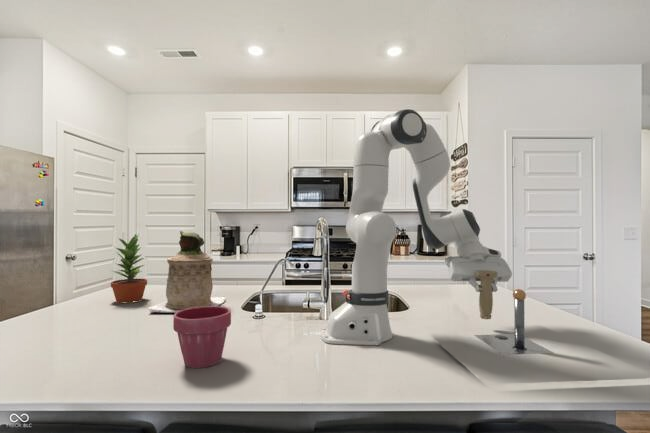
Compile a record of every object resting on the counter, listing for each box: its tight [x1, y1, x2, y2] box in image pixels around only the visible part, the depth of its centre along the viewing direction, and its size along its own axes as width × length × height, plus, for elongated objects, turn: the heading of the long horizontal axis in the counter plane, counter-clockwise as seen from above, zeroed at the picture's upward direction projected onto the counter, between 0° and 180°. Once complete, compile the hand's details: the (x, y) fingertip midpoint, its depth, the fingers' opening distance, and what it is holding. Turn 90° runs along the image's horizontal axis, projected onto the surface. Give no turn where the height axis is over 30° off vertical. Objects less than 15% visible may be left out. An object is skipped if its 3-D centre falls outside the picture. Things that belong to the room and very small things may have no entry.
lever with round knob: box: [512, 288, 527, 350], centre depth 100 cm, size 3×3×16 cm
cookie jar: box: [147, 230, 227, 314], centre depth 154 cm, size 25×25×32 cm
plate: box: [473, 333, 555, 355], centre depth 104 cm, size 14×16×1 cm
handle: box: [476, 270, 498, 320], centre depth 117 cm, size 5×6×15 cm
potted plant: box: [110, 233, 148, 303], centre depth 165 cm, size 15×15×30 cm
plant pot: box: [172, 305, 232, 369], centre depth 95 cm, size 14×14×13 cm
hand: (487, 290), depth 117 cm, fingers closed on handle, 3 cm apart
